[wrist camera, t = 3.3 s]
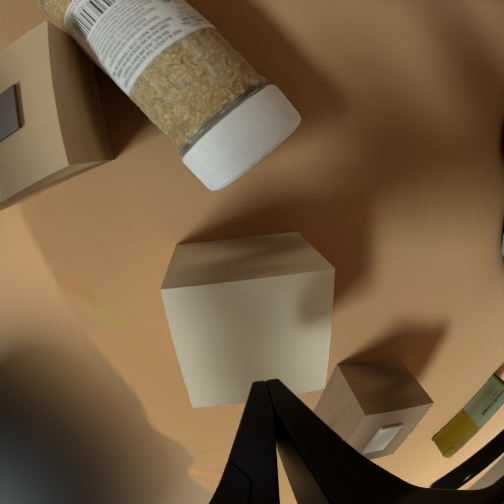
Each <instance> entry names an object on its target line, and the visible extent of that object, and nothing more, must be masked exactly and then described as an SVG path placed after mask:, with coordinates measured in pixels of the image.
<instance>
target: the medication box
mask: <svg viewBox="0 0 504 504" xmlns="http://www.w3.org/2000/svg"><path fill="white" fill-rule="evenodd" d="M503 403H504V380H503V379H502V378H501V377H500V376H499V375H498V374H497V373H495V372H494V373H493V375H492V376H491V377H490V378H489V380H488V381H487V382H486V383H485V384H484V386H483V387H482V388H481V389H480V390H479V391H478V393H477V394H476V395H475V396H474V397H473V398H472V399H471V400H470V402H469V403H468V404H467V405H466V406H465V407H464V408H463V409H462V410H461V411H460V412H459V413H458V414H457V415H456V416H455V417H454V418H453V419H452V420H451V421H450V422H449V423H448V424H447V425H446V426H445V427H444V428H443V429H442V430H441V431H440V432H439V433H437V434H436V435H435V436H434V437H433V438H432V439H431V440H432V441H434V442H435V444H436V445H437V447H438V449H439V450H440V452H441V453H442V455H443V456H444V457H447V458H450V457H451V456H453V455H454V454H455V453H456V452H457V451H458V450H459V449H460V448H461V447H463V446H464V445H465V444H466V443H467V442H468V441H469V440H470V439H471V438H472V437H473V436H474V435H475V434H476V433H477V432H478V431H479V430H480V429H481V428H482V427H483V426H484V425H485V424H486V423H487V422H488V421H489V419H490V418H491V417H492V416H493V415H494V414H495V413H496V412H497V411H498V409H499V408H500V407H501V406H502V405H503Z"/></svg>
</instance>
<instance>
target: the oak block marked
mask: <svg viewBox="0 0 504 504" xmlns="http://www.w3.org/2000/svg"><path fill="white" fill-rule="evenodd" d="M112 160H115V158H114V154H113V151H112V147H111V143H110V139H109V135H108V131H107V127H106V122H105V118H104V114H103V109H102V104H101V100H100V95H99V90H98V84H97V79H96V73H95V68H94V62H93V61H92V60H91V59H90V58H89V57H88V56H87V55H86V54H85V52H84V51H83V50H82V49H81V48H80V47H79V46H78V45H77V44H76V43H75V41H74V40H73V38H72V37H70V36H69V35H68V34H66V33H65V32H64V31H62V30H61V29H59V28H58V27H57V26H55V25H54V24H52V23H51V22H50V21H48V20H46V21H45V22H43V23H41V24H40V25H38V26H37V27H35V28H33V29H32V30H30V31H29V32H27V33H26V34H24V35H23V36H21V37H20V38H19V39H17V40H16V41H14V42H13V43H12V44H10V45H9V46H8V47H6V48H5V49H4V50H2V51H1V52H0V210H2V209H5V208H8V207H10V206H13V205H16V204H18V203H21V202H24V201H26V200H28V199H30V198H32V197H33V196H35V195H37V194H39V193H41V192H43V191H45V190H47V189H49V188H51V187H53V186H55V185H57V184H59V183H61V182H63V181H66V180H68V179H70V178H72V177H74V176H76V175H79V174H81V173H83V172H85V171H88V170H90V169H92V168H95V167H97V166H100V165H102V164H104V163H107V162H109V161H112Z"/></svg>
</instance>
